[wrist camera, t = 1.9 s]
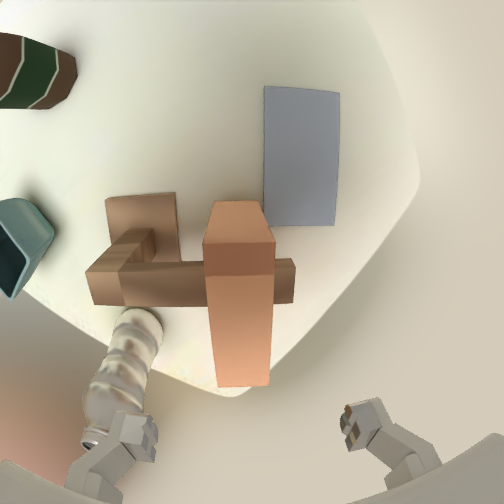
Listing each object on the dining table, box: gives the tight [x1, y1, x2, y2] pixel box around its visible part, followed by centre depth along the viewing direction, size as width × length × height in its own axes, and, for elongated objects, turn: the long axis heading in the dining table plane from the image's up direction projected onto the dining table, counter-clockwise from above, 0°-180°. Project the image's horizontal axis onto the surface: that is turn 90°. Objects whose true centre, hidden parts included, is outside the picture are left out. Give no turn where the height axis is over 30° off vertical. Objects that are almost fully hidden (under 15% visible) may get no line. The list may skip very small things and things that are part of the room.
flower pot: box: [0, 198, 54, 302], centre depth 23 cm, size 9×9×9 cm
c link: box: [202, 200, 276, 387], centre depth 22 cm, size 12×4×11 cm, turn 0°
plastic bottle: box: [81, 309, 163, 451], centre depth 25 cm, size 6×7×20 cm
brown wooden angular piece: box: [85, 193, 296, 307], centre depth 24 cm, size 10×18×12 cm, turn 90°
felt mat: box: [264, 86, 340, 226], centre depth 27 cm, size 15×8×1 cm, turn 0°
